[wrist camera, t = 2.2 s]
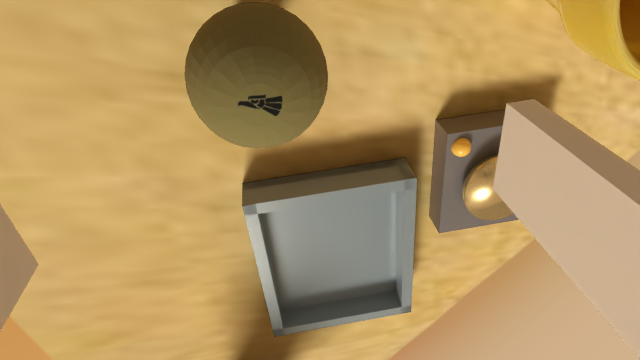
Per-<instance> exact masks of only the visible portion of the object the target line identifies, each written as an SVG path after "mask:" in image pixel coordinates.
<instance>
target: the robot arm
mask: <svg viewBox="0 0 640 360" xmlns="http://www.w3.org/2000/svg"><path fill="white" fill-rule="evenodd" d="M493 190H494V191H495V192H496V193H497V195H498V196H499V197H500V198H501V199H502V200H503V201H504V203H505V204H506V205H507V206H508V207H509V208H510V210H511V211H512V212H513V213H514V214H515V215H516V217H517V218H518V219H519V220H520V221H521V222H522V223H523V225H524V226H525V227H526V228H527V229H528V230H529V232H530V233H531V234H532V235H533V236H534V237H535V239H536V240H537V241H538V242H539V243H540V244H541V245H542V247H543V248H544V249H545V250H546V251H547V252H548V254H549V255H550V256H551V257H552V258H553V259H554V261H555V262H556V263H557V264H558V265H559V266H560V268H561V269H562V270H563V271H564V272H565V273H566V274H567V276H568V277H569V278H570V279H571V280H572V281H573V283H574V284H575V285H576V286H577V287H578V288H579V289H580V291H581V292H582V293H583V294H584V295H585V297H586V298H587V299H588V300H589V301H590V302H591V303H592V305H593V306H594V307H595V308H596V309H597V310H598V312H599V313H600V314H601V315H602V316H603V317H604V319H605V320H606V321H607V322H608V323H609V324H610V326H612V328H613V329H614V330H615V331H616V332H617V334H618V335H619V336H620V337H621V338H622V339H623V340H624V342H625V343H626V344H627V345H628V346H629V347H630V349H631V350H632V351H633V352H634V353H635V354H636V356H637V357H638V358H639V359H640V171H639V170H638V169H637V168H635V167H634V166H632V165H631V164H629V163H628V162H626V161H625V160H623V159H622V158H620V157H619V156H617V155H616V154H614V153H613V152H612V151H610V150H609V149H607V148H606V147H604V146H603V145H601V144H600V143H598V142H597V141H595V140H594V139H592V138H591V137H589V136H588V135H587V134H585V133H584V132H582V131H581V130H579V129H578V128H576V127H575V126H573V125H572V124H570V123H569V122H567V121H566V120H564V119H563V118H562V117H560V116H559V115H557V114H556V113H554V112H553V111H551V110H550V109H548V108H547V107H545V106H544V105H542V104H541V103H540V102H538V101H537V100H535V99H531V100H524V101H518V102H511V103H507V104H506V110H505V116H504V122H503V128H502V135H501V141H500V147H499V153H498V159H497V165H496V172H495V178H494V184H493ZM37 266H38V263H37V261H36V259H35V258H34V256H33V255H32V253H31V252H30V250H29V249H28V247H27V245H26V244H25V242H24V241H23V239H22V238H21V236H20V234H19V233H18V231H17V230H16V228H15V227H14V225H13V223H12V222H11V220H10V219H9V217H8V216H7V214H6V213H5V211H4V209H3V208H2V206H1V205H0V331H1V329H2V327H3V325H4V324H5V322H6V320H7V318H8V317H9V315H10V313H11V312H12V310H13V308H14V306H15V305H16V303H17V301H18V299H19V298H20V296H21V294H22V292H23V291H24V289H25V287H26V285H27V284H28V282H29V280H30V278H31V277H32V275H33V273H34V271H35V270H36V268H37Z"/></svg>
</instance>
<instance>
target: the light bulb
mask: <svg viewBox="0 0 640 360" xmlns="http://www.w3.org/2000/svg"><path fill="white" fill-rule="evenodd" d="M185 81H186V88H187V93H188V95H189V98H190V101H191V104H192V106H193V108H194V110H195V111H196V113H197V115H198V116H199V118H200V119H201V120H202V121H203V122H204V123H205V124H206V126H207V127H208V128H209V129H210V130H211V131H213V132H214V133H215V134H217V135H218V136H219V137H221V138H223V139H225V140H226V141H228V142H230V143H233V144H236V145H239V146H242V147H249V148H269V147H274V146H278V145H281V144H284V143H286V142H289V141H291V140H293V139H294V138H296V137H297V136H299V135H300V134H302V133H303V132H304V131H305V130H306V129H307V128H308V127H309V126H310V125H311V123H312V122H313V121H314V119H315V118H316V117H317V115H318V113H319V111H320V109H321V107H322V105H323V103H324V99H325V95H326V91H327V82H328V72H327V65H326V59H325V56H324V54H323V51H322V48H321V45H320V43H319V42H318V40H317V39H316V37H315V35H314V34H313V32H312V31H311V30H310V29H309V27H308V26H307V25H306V24H305V23H304V22H303V21H301V20H300V19H299V18H298V17H297V16H296V15H294V14H292V13H290V12H289V11H287V10H285V9H283V8H280V7H277V6H274V5H271V4H266V3H258V2H251V3H240V4H237V5H234V6H230V7H227V8H225V9H223V10H221V11H220V12H218V13H216V14H214V15H213V16H212V17H211V18H210V19H209V20H207V21H206V22H205V23H204V24H203V25H202V27H201V28H200V29H199V31H198V32H197V34H196V35H195V37H194V39H193V41H192V42H191V44H190V47H189V51H188V54H187V57H186V64H185Z"/></svg>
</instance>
